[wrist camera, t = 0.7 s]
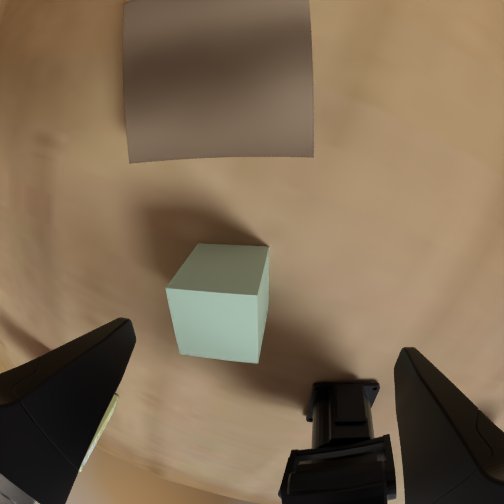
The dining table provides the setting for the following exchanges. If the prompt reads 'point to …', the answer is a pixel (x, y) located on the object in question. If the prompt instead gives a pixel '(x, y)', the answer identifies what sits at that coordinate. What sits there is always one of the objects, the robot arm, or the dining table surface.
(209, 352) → the green block
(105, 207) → the dining table surface
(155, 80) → the walnut base
